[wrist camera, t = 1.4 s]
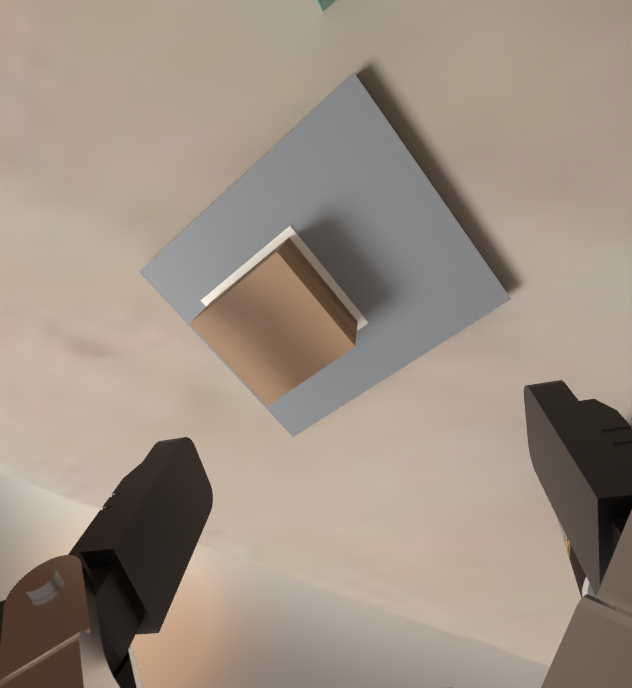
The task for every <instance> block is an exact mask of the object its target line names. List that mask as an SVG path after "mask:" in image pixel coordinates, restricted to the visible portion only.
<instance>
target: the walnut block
mask: <svg viewBox="0 0 632 688" xmlns="http://www.w3.org/2000/svg"><path fill="white" fill-rule="evenodd" d="M357 324H358V321H357V320H356V319H355V318H354V317H353V315H352V314H351V313H350V312H349V310H348V309H347V308H346V307H345V305H344V304H343V303H342V302H341V301H340V299H339V298H338V297H337V296H336V294H335V293H334V292H333V291H332V289H331V288H330V287H329V286H328V285H327V283H326V282H325V281H324V280H323V278H322V277H321V276H320V275H319V273H318V272H317V271H316V270H315V268H314V267H313V266H312V265H311V264H310V262H309V261H308V260H307V259H306V257H305V256H304V255H303V254H302V252H301V251H300V250H299V249H298V248H297V246H296V245H295V244H294V243H293V241H292V240H291V239H290V238H288V239H286V240H285V241H284V242H283V243H281V244H280V245H279V246H278V247H277V248H275V249H274V250H273V251H272V252H271V253H269V254H268V255H267V256H266V257H265V258H263V259H262V260H261V261H260V262H259V263H257V264H256V265H255V266H254V267H252V268H251V269H250V270H249V271H248V272H246V273H245V274H244V275H243V276H242V277H240V278H239V279H238V280H237V281H236V282H234V283H233V284H232V285H231V286H229V287H228V288H227V289H226V290H225V291H223V292H222V293H221V294H220V295H219V296H217V297H216V298H215V299H214V300H213V301H211V302H210V303H209V304H208V305H207V306H206V307H205V308H204V309H203V310H202V311H201V312H200V313H199V314H198V315H197V317H196V318H195V319H194V320H193V321H192V322H191V323H190V325H191V326H192V327H193V328H194V329H195V330H196V331H197V332H198V333H199V334H200V336H201V337H202V338H203V339H204V340H205V341H206V342H207V343H208V344H209V345H210V346H211V347H212V348H213V350H214V351H215V352H216V353H217V354H218V355H219V356H220V357H221V358H222V359H223V360H224V361H225V362H226V363H227V365H228V366H229V367H230V368H231V369H232V370H233V371H234V372H235V373H236V374H237V375H238V376H239V377H240V379H241V380H242V381H243V382H244V383H245V384H246V385H247V386H248V387H249V388H250V389H251V390H252V391H253V392H254V394H255V395H256V396H257V397H258V398H259V399H260V400H261V401H262V402H263V403H264V404H265V405H266V406H269V405H270V404H272V403H273V402H275V401H276V400H277V399H279V398H280V397H282V396H283V395H285V394H286V393H288V392H289V391H291V390H292V389H294V388H295V387H297V386H298V385H300V384H301V383H302V382H304V381H305V380H307V379H308V378H310V377H311V376H313V375H314V374H316V373H317V372H319V371H320V370H322V369H323V368H325V367H326V366H328V365H329V364H330V363H332V362H333V361H335V360H336V359H338V358H339V357H341V356H342V355H344V354H345V353H347V352H348V351H350V350H351V349H353V348H354V347H355V345H356V335H357Z"/></svg>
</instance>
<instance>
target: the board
mask: <svg viewBox="0 0 632 688" xmlns="http://www.w3.org/2000/svg"><path fill="white" fill-rule="evenodd" d="M288 238H290V239H291V240H292V241H293V243H294V244H295V245H296V246H297V248H298V249H299V250H300V251H301V252H302V254H303V255H304V256H305V257H306V259H307V260H308V261H309V262H310V264H311V265H312V266H313V267H314V268H315V270H316V271H317V272H318V273H319V275H320V276H321V277H322V278H323V280H324V281H325V282H326V283H327V285H328V286H329V287H330V288H331V289H332V291H333V292H334V293H335V294H336V296H337V297H338V298H339V299H340V301H341V302H342V303H343V304H344V305H345V307H346V308H347V309H348V310H349V312H350V313H351V314H352V315H353V317H354V318H355V319H356V320H357V321H358V324H357V335H356V345H355V347H354V348H353V349H351V350H350V351H348V352H347V353H345V354H344V355H342V356H341V357H339V358H338V359H336V360H335V361H333V362H332V363H330V364H329V365H328V366H326V367H325V368H323V369H322V370H320V371H319V372H317V373H316V374H314V375H313V376H311V377H310V378H308V379H307V380H305V381H304V382H302V383H301V384H300V385H298V386H297V387H295V388H294V389H292V390H291V391H289V392H288V393H286V394H285V395H283V396H282V397H280V398H279V399H277V400H276V401H275V402H273V403H272V404H270V405H269V406H266V405H265V404H264V403H263V402H262V401H261V400H260V399H259V398H258V397H257V396H256V395H255V394H254V392H253V391H252V390H251V389H250V388H249V387H248V386H247V385H246V384H245V383H244V382H243V381H242V380H241V379H240V377H239V376H238V375H237V374H236V373H235V372H234V371H233V370H232V369H231V368H230V367H229V366H228V365H227V363H226V362H225V361H224V360H223V359H222V358H221V357H220V356H219V355H218V354H217V353H216V352H215V351H214V350H213V348H212V347H211V346H210V345H209V344H208V343H207V342H206V341H205V340H204V339H203V338H202V337H201V336H200V334H199V333H198V332H197V331H196V330H195V329H194V328H193V327H192V326H191V325H190V323H191V322H192V321H193V320H194V319H195V318H196V317H197V315H198V314H199V313H200V312H201V311H202V310H203V309H204V308H205V307H206V306H207V305H208V304H209V303H210V302H211V301H213V300H214V299H215V298H216V297H217V296H219V295H220V294H221V293H222V292H223V291H225V290H226V289H227V288H228V287H229V286H231V285H232V284H233V283H234V282H236V281H237V280H238V279H239V278H240V277H242V276H243V275H244V274H245V273H246V272H248V271H249V270H250V269H251V268H252V267H254V266H255V265H256V264H257V263H259V262H260V261H261V260H262V259H263V258H265V257H266V256H267V255H268V254H269V253H271V252H272V251H273V250H274V249H275V248H277V247H278V246H279V245H280V244H281V243H283V242H284V241H285V240H286V239H288ZM139 272H140V273H141V274H142V276H143V277H144V278H145V279H146V280H147V281H148V282H149V283H150V284H151V285H152V286H153V287H154V288H155V289H156V291H157V292H158V293H159V294H160V295H161V296H162V297H163V298H164V299H165V300H166V301H167V302H168V303H169V305H170V306H171V307H172V308H173V309H174V310H175V311H176V312H177V313H178V314H179V315H180V316H181V317H182V318H183V320H184V321H185V322H186V323H187V324H188V325H189V326H190V327H191V328H192V329H193V330H194V331H195V332H196V333H197V335H198V336H199V337H200V338H201V339H202V340H203V341H204V342H205V343H206V344H207V345H208V346H209V347H210V348H211V350H212V351H213V352H214V353H215V354H216V355H217V356H218V357H219V358H220V359H221V360H222V361H223V362H224V363H225V365H226V366H227V367H228V368H229V369H230V370H231V371H232V372H233V373H234V374H235V375H236V376H237V377H238V378H239V380H240V381H241V382H242V383H243V384H244V385H245V386H246V387H247V388H248V389H249V390H250V391H251V392H252V394H253V395H254V396H255V397H256V398H257V399H258V400H259V401H260V402H261V403H262V404H263V405H264V406H265V407H266V409H267V410H268V411H269V412H270V413H271V414H272V415H273V416H274V417H275V418H276V419H277V420H278V421H279V422H280V424H281V425H282V426H283V427H284V428H285V429H286V430H287V431H288V432H289V433H290V434H291V435H292V436H293V437H294V436H295V435H297V434H299V433H300V432H302V431H303V430H305V429H306V428H308V427H310V426H311V425H313V424H314V423H316V422H318V421H319V420H321V419H322V418H324V417H325V416H327V415H329V414H330V413H332V412H333V411H335V410H336V409H338V408H340V407H341V406H343V405H344V404H346V403H347V402H349V401H351V400H352V399H354V398H355V397H357V396H359V395H360V394H362V393H363V392H365V391H366V390H368V389H370V388H371V387H373V386H374V385H376V384H377V383H379V382H381V381H382V380H384V379H385V378H387V377H388V376H390V375H392V374H393V373H395V372H396V371H398V370H400V369H401V368H403V367H404V366H406V365H407V364H409V363H411V362H412V361H414V360H415V359H417V358H418V357H420V356H422V355H423V354H425V353H426V352H428V351H429V350H431V349H433V348H434V347H436V346H437V345H439V344H441V343H442V342H444V341H445V340H447V339H448V338H450V337H452V336H453V335H455V334H456V333H458V332H459V331H461V330H463V329H464V328H466V327H467V326H469V325H470V324H472V323H474V322H475V321H477V320H478V319H480V318H482V317H483V316H485V315H486V314H488V313H489V312H491V311H493V310H494V309H496V308H497V307H499V306H500V305H502V304H504V303H505V302H507V301H508V300H510V299H511V298H510V297H509V295H508V294H507V292H506V291H505V289H504V288H503V287H502V285H501V284H500V282H499V281H498V279H497V278H496V276H495V275H494V274H493V272H492V271H491V269H490V268H489V266H488V265H487V263H486V262H485V261H484V259H483V258H482V256H481V255H480V253H479V252H478V250H477V249H476V248H475V246H474V245H473V243H472V242H471V240H470V239H469V238H468V236H467V235H466V233H465V232H464V230H463V229H462V227H461V226H460V225H459V223H458V222H457V220H456V219H455V217H454V216H453V214H452V213H451V212H450V210H449V209H448V207H447V206H446V204H445V203H444V201H443V200H442V199H441V197H440V196H439V194H438V193H437V191H436V190H435V188H434V187H433V186H432V184H431V183H430V181H429V180H428V178H427V177H426V176H425V174H424V173H423V171H422V170H421V168H420V167H419V165H418V164H417V163H416V161H415V160H414V158H413V157H412V155H411V154H410V152H409V151H408V150H407V148H406V147H405V145H404V144H403V142H402V141H401V139H400V138H399V137H398V135H397V134H396V132H395V131H394V129H393V128H392V126H391V125H390V124H389V122H388V121H387V119H386V118H385V116H384V115H383V114H382V112H381V111H380V109H379V108H378V106H377V105H376V103H375V102H374V101H373V99H372V98H371V96H370V95H369V93H368V92H367V90H366V89H365V88H364V86H363V85H362V83H361V82H360V80H359V79H358V77H357V76H356V75H355V73H353V74H352V75H351V76H350V77H349V78H348V79H346V80H345V81H344V82H343V83H342V84H341V85H340V86H339V87H338V88H337V89H336V90H335V91H334V92H332V93H331V94H330V95H329V96H328V97H327V98H326V99H325V100H324V101H323V102H322V103H321V104H319V105H318V106H317V107H316V108H315V109H314V110H313V111H312V112H311V113H310V114H309V115H308V116H307V117H305V118H304V119H303V120H302V121H301V122H300V123H299V124H298V125H297V126H296V127H295V128H294V129H293V130H291V131H290V132H289V133H288V134H287V135H286V136H285V137H284V138H283V139H282V140H281V141H280V142H278V143H277V144H276V145H275V146H274V147H273V148H272V149H271V150H270V151H269V152H268V153H267V154H266V155H264V156H263V157H262V158H261V159H260V160H259V161H258V162H257V163H256V164H255V165H254V166H253V167H251V168H250V169H249V170H248V171H247V172H246V173H245V174H244V175H243V176H242V177H241V178H240V179H239V180H237V181H236V182H235V183H234V184H233V185H232V186H231V187H230V188H229V189H228V190H227V191H226V192H225V193H223V194H222V195H221V196H220V197H219V198H218V199H217V200H216V201H215V202H214V203H213V204H212V205H210V206H209V207H208V208H207V209H206V210H205V211H204V212H203V213H202V214H201V215H200V216H199V217H198V218H196V219H195V220H194V221H193V222H192V223H191V224H190V225H189V226H188V227H187V228H186V229H185V230H183V231H182V232H181V233H180V234H179V235H178V236H177V237H176V238H175V239H174V240H173V241H172V242H171V243H169V244H168V245H167V246H166V247H165V248H164V249H163V250H162V251H161V252H160V253H159V254H158V255H156V256H155V257H154V258H153V259H152V260H151V261H150V262H149V263H148V264H147V265H146V266H145V267H144V268H142V269H141V270H140V271H139Z"/></svg>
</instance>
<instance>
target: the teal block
mask: <svg viewBox="0 0 632 688" xmlns="http://www.w3.org/2000/svg"><path fill="white" fill-rule="evenodd" d="M315 1H316V2H317V4H318V5H319V7H320V8H321V9H322V11H324V10H325V9H326V8H327V7H328V6H329V5H330V4H331V3H332V2H333V1H334V0H315Z"/></svg>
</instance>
